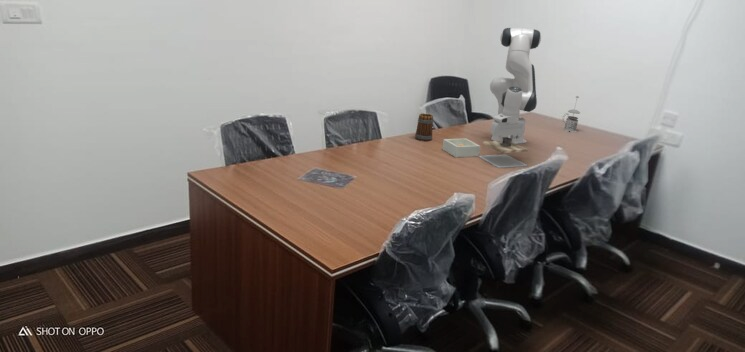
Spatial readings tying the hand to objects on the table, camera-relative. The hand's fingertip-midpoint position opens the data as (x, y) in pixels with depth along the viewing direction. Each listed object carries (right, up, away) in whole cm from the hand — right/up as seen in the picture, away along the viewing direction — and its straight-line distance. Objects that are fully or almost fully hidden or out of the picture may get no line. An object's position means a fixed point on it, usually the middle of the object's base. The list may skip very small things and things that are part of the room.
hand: (505, 142), depth 271 cm
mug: (-41, +5, +37) cm, 55 cm away
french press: (+68, +14, +87) cm, 112 cm away
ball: (-22, -2, +12) cm, 25 cm away
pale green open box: (-22, -5, +13) cm, 26 cm away
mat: (-1, -10, +4) cm, 11 cm away
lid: (0, -2, +1) cm, 3 cm away
